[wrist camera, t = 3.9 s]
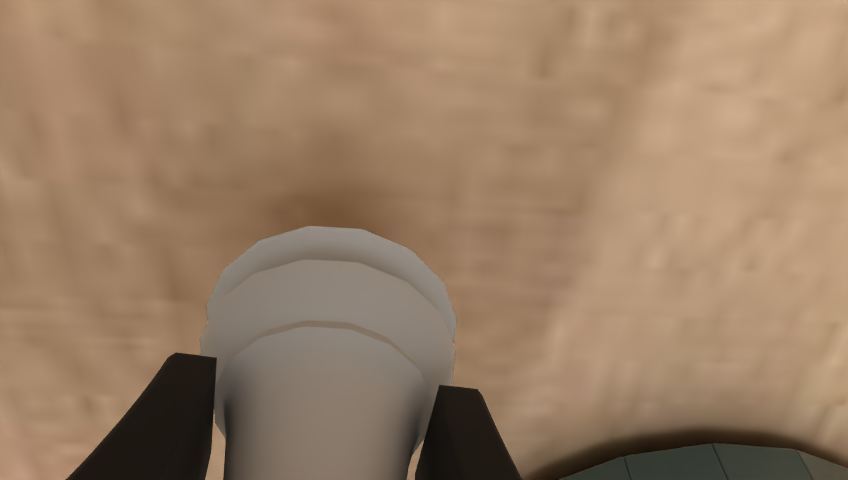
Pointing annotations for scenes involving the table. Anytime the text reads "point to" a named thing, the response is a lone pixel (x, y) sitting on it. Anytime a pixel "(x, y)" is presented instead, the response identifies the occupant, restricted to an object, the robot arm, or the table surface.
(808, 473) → the teal bowl
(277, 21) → the table surface
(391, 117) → the table surface
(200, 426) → the robot arm
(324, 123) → the table surface
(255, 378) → the rook chess piece
